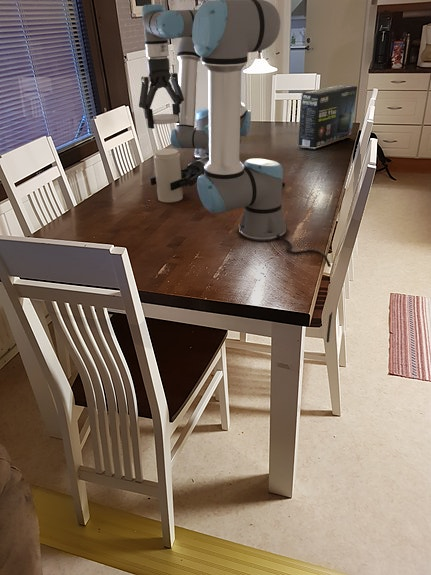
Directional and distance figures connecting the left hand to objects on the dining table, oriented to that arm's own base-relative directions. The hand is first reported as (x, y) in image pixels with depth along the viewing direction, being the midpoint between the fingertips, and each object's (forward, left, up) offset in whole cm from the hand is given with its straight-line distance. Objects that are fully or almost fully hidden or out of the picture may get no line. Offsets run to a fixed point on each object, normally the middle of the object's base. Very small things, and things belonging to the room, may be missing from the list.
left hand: (161, 184), depth 174 cm
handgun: (-31, +37, -7) cm, 49 cm away
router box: (-97, +57, -7) cm, 112 cm away
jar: (-4, +2, -7) cm, 8 cm away
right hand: (-4, +2, +21) cm, 21 cm away
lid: (-4, +2, +23) cm, 24 cm away
